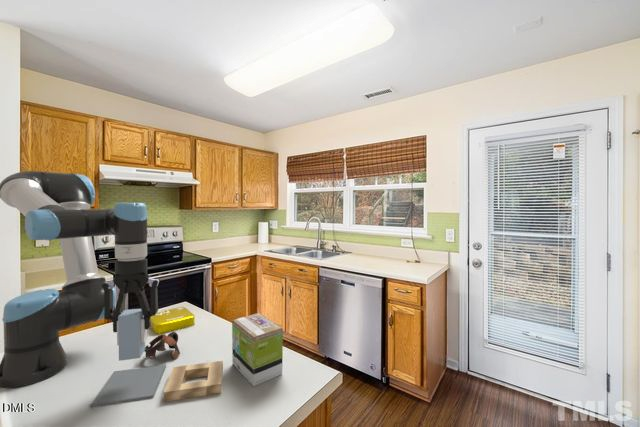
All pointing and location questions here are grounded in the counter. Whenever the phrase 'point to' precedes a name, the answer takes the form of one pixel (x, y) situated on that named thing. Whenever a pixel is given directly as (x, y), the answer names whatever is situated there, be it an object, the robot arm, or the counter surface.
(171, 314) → the element tile
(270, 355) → the tea box
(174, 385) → the holder
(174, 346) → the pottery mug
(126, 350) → the part
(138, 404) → the counter surface
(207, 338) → the counter surface
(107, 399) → the plate
